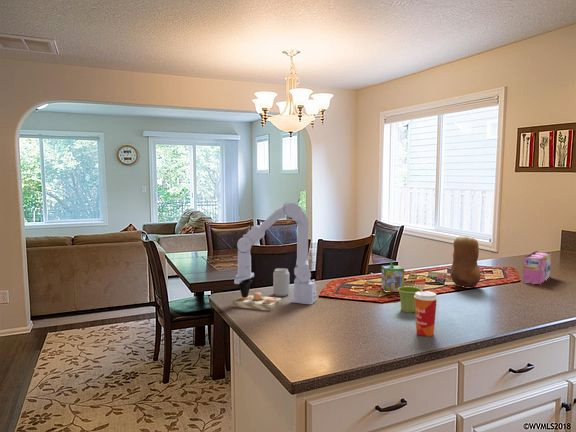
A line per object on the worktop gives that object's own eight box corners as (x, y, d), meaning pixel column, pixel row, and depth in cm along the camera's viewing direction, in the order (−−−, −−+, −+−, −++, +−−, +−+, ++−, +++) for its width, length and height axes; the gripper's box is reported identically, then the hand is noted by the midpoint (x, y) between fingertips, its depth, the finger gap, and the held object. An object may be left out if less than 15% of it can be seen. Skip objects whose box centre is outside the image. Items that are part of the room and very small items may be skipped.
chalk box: (404, 293, 197) (405, 261, 196) (384, 293, 198) (385, 262, 196) (399, 288, 207) (400, 258, 205) (380, 288, 207) (381, 258, 206)
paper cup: (409, 330, 149) (410, 291, 148) (431, 329, 149) (431, 290, 148) (418, 338, 141) (419, 297, 140) (440, 337, 142) (441, 296, 140)
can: (287, 297, 192) (287, 271, 191) (271, 296, 194) (271, 270, 193) (290, 292, 200) (290, 267, 199) (275, 292, 201) (275, 267, 200)
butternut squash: (482, 286, 209) (483, 235, 207) (477, 292, 198) (479, 239, 196) (452, 282, 217) (453, 234, 215) (446, 288, 206) (448, 237, 204)
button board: (282, 303, 182) (281, 297, 182) (271, 310, 172) (271, 304, 172) (244, 299, 189) (244, 293, 189) (232, 306, 179) (232, 300, 179)
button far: (250, 302, 184) (250, 296, 183) (246, 304, 180) (246, 298, 180) (243, 301, 185) (243, 295, 185) (239, 303, 182) (239, 297, 182)
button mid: (262, 299, 181) (262, 292, 181) (259, 301, 178) (259, 294, 178) (255, 298, 182) (255, 292, 182) (252, 300, 179) (252, 294, 179)
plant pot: (421, 308, 174) (422, 287, 173) (421, 315, 165) (421, 293, 164) (398, 306, 177) (398, 285, 176) (396, 312, 168) (396, 291, 168)
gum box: (534, 275, 233) (535, 250, 231) (551, 277, 227) (552, 252, 226) (522, 283, 215) (523, 256, 214) (540, 285, 210) (541, 258, 209)
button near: (275, 305, 179) (275, 298, 179) (272, 307, 176) (272, 300, 176) (268, 304, 180) (268, 298, 180) (264, 306, 177) (264, 300, 177)
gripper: (244, 262, 190) (244, 291, 191) (227, 268, 176) (228, 300, 177) (258, 263, 187) (258, 293, 188) (242, 269, 173) (243, 302, 175)
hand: (244, 296), depth 182 cm, fingers closed, pressing on button far
